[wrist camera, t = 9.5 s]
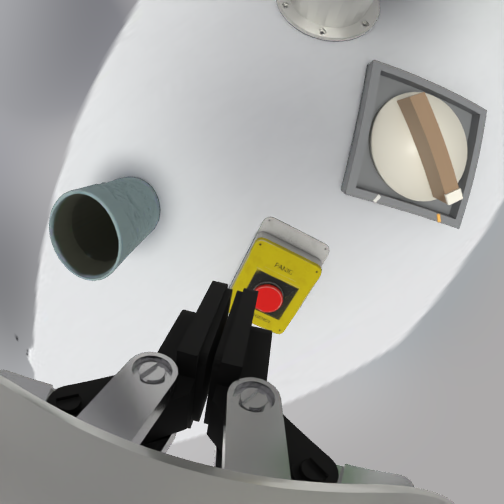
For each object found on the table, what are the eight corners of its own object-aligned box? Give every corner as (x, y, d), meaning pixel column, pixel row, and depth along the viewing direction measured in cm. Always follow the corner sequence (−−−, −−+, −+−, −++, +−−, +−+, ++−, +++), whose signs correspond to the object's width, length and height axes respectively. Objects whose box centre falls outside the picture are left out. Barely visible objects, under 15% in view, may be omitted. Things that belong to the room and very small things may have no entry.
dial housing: (367, 65, 29) (374, 59, 26) (474, 110, 28) (487, 110, 25) (340, 190, 35) (345, 194, 32) (448, 222, 34) (459, 229, 31)
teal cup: (169, 178, 37) (122, 197, 26) (162, 250, 41) (121, 292, 30) (104, 168, 37) (46, 185, 26) (102, 236, 41) (51, 269, 30)
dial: (350, 113, 30) (362, 109, 25) (438, 81, 27) (461, 75, 22) (392, 214, 34) (408, 228, 29) (473, 178, 30) (497, 186, 25)
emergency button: (213, 321, 39) (264, 222, 34) (220, 304, 43) (267, 212, 38) (276, 349, 40) (336, 259, 34) (277, 331, 44) (332, 246, 38)
